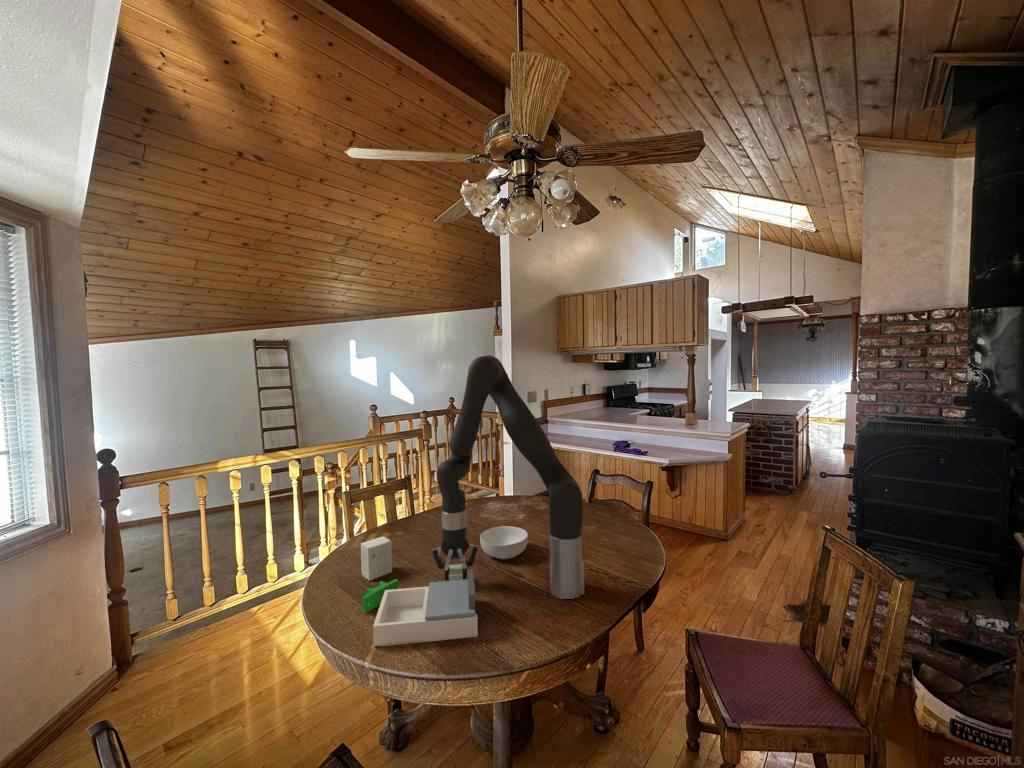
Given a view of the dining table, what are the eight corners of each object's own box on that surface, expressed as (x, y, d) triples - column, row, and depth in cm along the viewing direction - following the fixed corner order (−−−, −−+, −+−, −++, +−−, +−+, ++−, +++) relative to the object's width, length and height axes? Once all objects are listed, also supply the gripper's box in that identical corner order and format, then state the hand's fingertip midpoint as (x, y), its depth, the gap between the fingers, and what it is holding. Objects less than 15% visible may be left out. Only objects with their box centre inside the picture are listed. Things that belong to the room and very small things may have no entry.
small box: (384, 566, 136) (383, 535, 136) (392, 572, 132) (391, 540, 132) (361, 575, 130) (360, 543, 130) (368, 581, 126) (367, 548, 126)
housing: (474, 599, 116) (474, 582, 115) (477, 636, 100) (477, 616, 99) (385, 608, 112) (384, 590, 112) (373, 647, 96) (373, 626, 96)
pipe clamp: (390, 591, 121) (389, 576, 121) (398, 595, 119) (398, 579, 119) (356, 609, 112) (356, 593, 112) (365, 614, 110) (364, 597, 110)
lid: (472, 581, 115) (472, 566, 115) (475, 615, 99) (474, 598, 99) (429, 585, 114) (429, 570, 114) (425, 620, 98) (424, 602, 98)
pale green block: (462, 576, 127) (462, 563, 127) (462, 588, 121) (462, 575, 120) (449, 577, 127) (449, 564, 127) (449, 589, 120) (448, 576, 120)
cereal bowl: (505, 540, 156) (505, 521, 155) (538, 553, 144) (537, 534, 144) (470, 554, 144) (470, 535, 144) (502, 571, 132) (502, 549, 132)
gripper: (477, 518, 128) (478, 572, 128) (431, 521, 126) (432, 576, 127) (478, 527, 120) (480, 584, 121) (429, 530, 119) (431, 588, 119)
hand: (456, 579), depth 124 cm, fingers closed on pale green block, 4 cm apart
